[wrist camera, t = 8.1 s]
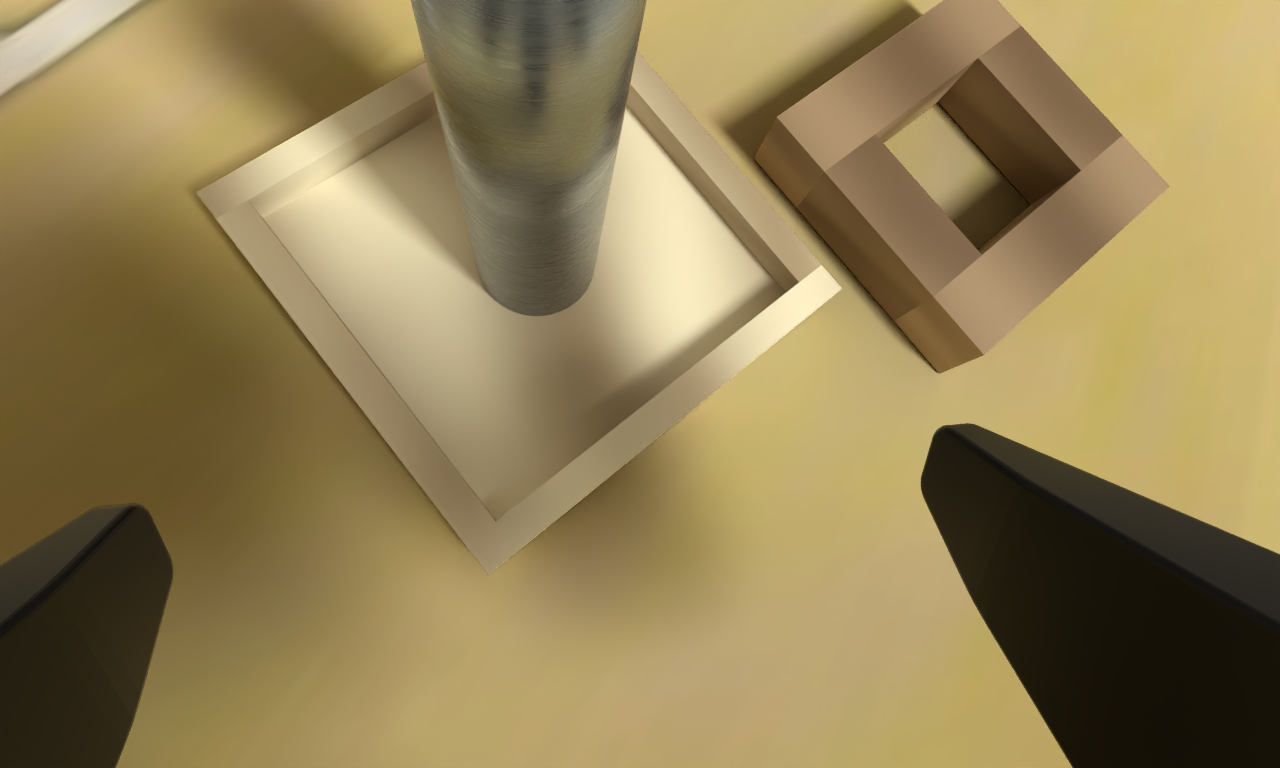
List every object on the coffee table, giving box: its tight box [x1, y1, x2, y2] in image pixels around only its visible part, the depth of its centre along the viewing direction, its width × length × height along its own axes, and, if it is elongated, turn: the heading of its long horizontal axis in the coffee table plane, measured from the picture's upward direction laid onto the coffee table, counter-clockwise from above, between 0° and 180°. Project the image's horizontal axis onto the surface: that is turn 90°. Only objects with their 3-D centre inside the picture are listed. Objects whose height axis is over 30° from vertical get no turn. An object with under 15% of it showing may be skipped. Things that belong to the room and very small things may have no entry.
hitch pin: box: [411, 0, 646, 316], centre depth 11 cm, size 4×4×14 cm
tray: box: [196, 50, 842, 575], centre depth 17 cm, size 11×11×2 cm
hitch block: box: [754, 0, 1169, 373], centre depth 19 cm, size 8×8×2 cm
